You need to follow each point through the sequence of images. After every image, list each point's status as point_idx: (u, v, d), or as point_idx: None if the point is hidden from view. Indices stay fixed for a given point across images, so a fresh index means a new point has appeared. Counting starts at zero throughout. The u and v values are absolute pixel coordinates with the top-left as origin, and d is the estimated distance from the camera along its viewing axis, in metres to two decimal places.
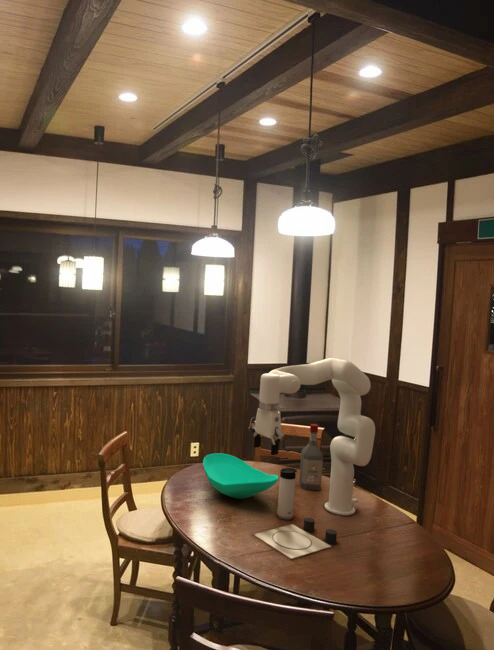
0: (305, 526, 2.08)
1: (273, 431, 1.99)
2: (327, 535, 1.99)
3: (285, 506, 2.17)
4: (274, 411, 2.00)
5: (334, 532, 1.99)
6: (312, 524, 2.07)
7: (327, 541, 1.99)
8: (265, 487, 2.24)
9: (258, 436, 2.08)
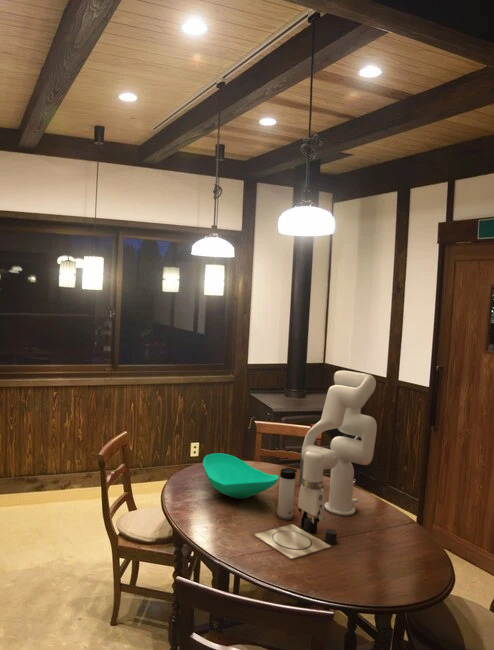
0: (305, 526, 2.08)
1: (316, 513, 2.04)
2: (327, 535, 1.99)
3: (285, 506, 2.17)
4: (318, 489, 2.05)
5: (334, 532, 1.99)
6: None
7: (327, 541, 1.99)
8: (265, 487, 2.24)
9: (305, 516, 2.11)
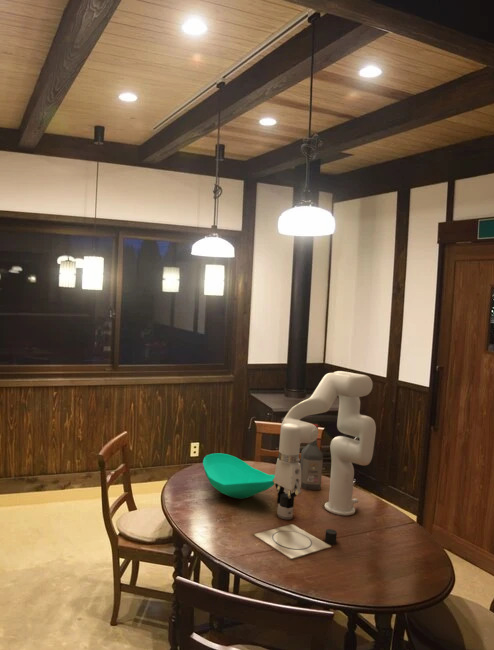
0: (281, 501, 2.00)
1: (293, 487, 1.96)
2: (327, 535, 1.99)
3: None
4: (294, 463, 1.97)
5: (334, 532, 1.99)
6: None
7: (327, 541, 1.99)
8: (265, 487, 2.24)
9: (282, 492, 2.03)
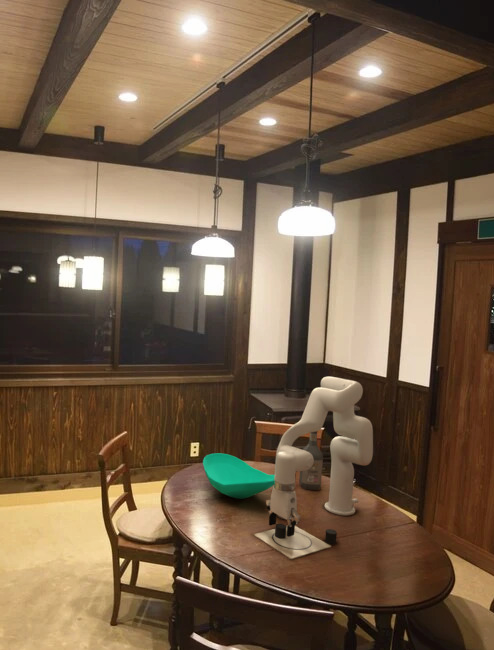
0: (276, 532, 2.00)
1: (289, 512, 1.96)
2: (327, 535, 1.99)
3: None
4: (290, 492, 1.97)
5: (334, 532, 1.99)
6: (283, 530, 1.99)
7: (327, 541, 1.99)
8: (265, 487, 2.24)
9: (273, 514, 2.05)
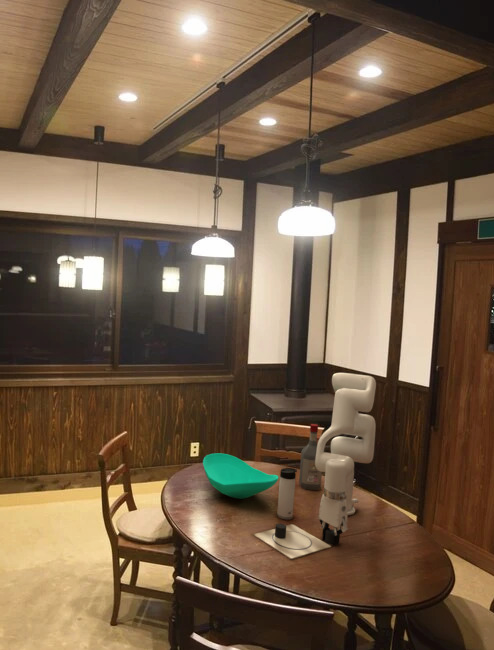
0: (276, 532, 2.00)
1: (339, 524, 1.95)
2: (327, 535, 1.99)
3: (285, 506, 2.17)
4: (341, 500, 1.96)
5: None
6: (283, 530, 1.99)
7: (327, 541, 1.99)
8: (265, 487, 2.24)
9: (327, 528, 2.02)
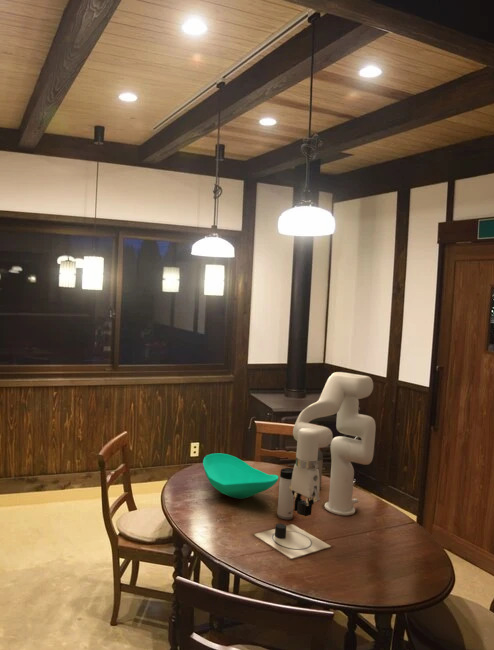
0: (276, 532, 2.00)
1: (311, 494, 1.89)
2: (299, 506, 1.93)
3: (285, 506, 2.17)
4: (313, 469, 1.90)
5: None
6: (283, 530, 1.99)
7: (299, 512, 1.93)
8: (265, 487, 2.24)
9: (299, 499, 1.96)
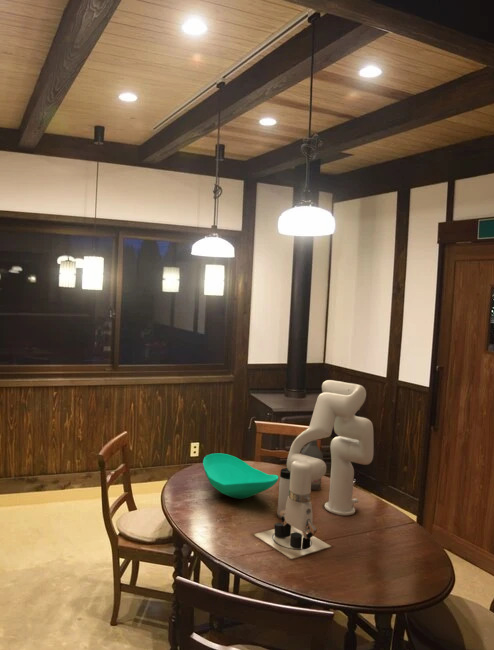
0: (276, 531, 2.00)
1: (305, 524, 1.89)
2: (292, 539, 1.93)
3: (285, 506, 2.17)
4: (306, 502, 1.90)
5: (299, 535, 1.93)
6: (282, 528, 1.99)
7: (292, 545, 1.93)
8: (265, 487, 2.24)
9: (288, 525, 1.98)
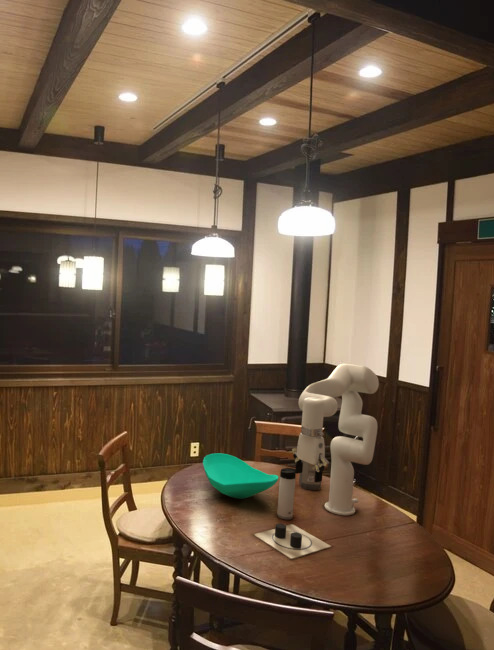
0: (276, 532, 2.00)
1: (317, 458, 1.92)
2: (292, 539, 1.93)
3: (285, 506, 2.17)
4: (318, 437, 1.94)
5: (299, 535, 1.93)
6: (283, 530, 1.99)
7: (292, 545, 1.93)
8: (265, 487, 2.24)
9: (300, 462, 2.02)
